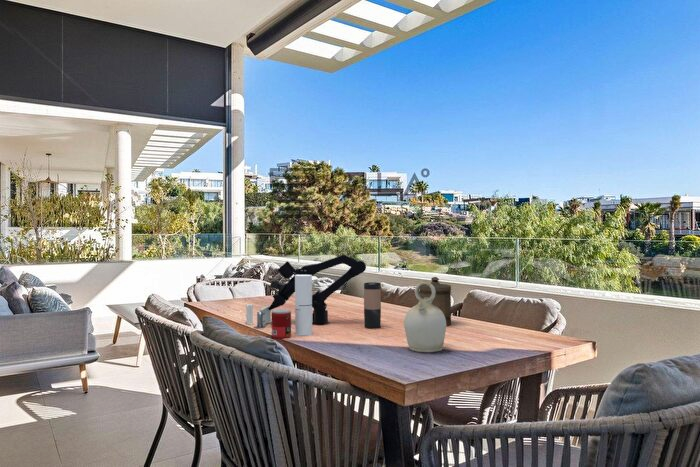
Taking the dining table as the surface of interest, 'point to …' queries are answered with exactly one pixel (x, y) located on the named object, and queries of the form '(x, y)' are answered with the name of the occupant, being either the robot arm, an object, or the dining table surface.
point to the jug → (425, 324)
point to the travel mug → (372, 305)
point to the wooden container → (439, 297)
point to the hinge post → (259, 320)
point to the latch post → (249, 313)
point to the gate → (266, 314)
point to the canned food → (281, 323)
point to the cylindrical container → (303, 305)
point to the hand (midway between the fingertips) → (269, 309)
